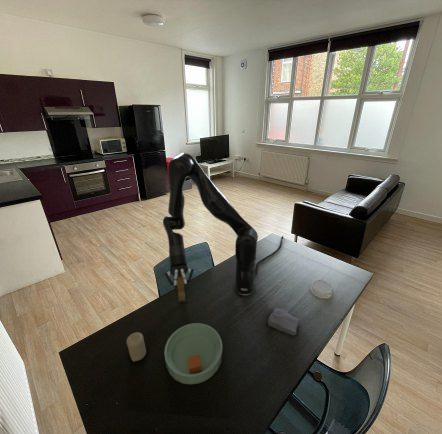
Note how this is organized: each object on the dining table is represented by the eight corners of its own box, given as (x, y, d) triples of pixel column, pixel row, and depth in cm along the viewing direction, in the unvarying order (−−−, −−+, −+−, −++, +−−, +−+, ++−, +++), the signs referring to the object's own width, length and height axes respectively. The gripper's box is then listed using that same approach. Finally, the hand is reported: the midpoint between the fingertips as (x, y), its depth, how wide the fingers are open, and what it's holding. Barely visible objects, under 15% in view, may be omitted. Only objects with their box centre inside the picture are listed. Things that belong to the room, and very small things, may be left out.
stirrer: (178, 297, 112) (176, 277, 107) (184, 296, 113) (183, 276, 107) (178, 301, 109) (176, 281, 104) (185, 300, 110) (183, 280, 105)
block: (188, 364, 84) (188, 357, 82) (200, 361, 85) (199, 354, 83) (190, 375, 80) (189, 368, 78) (201, 372, 81) (201, 365, 79)
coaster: (328, 285, 121) (329, 280, 120) (334, 300, 112) (336, 294, 111) (308, 284, 122) (309, 278, 121) (312, 298, 113) (314, 292, 112)
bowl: (185, 325, 99) (185, 316, 97) (230, 343, 92) (231, 334, 90) (153, 370, 83) (152, 361, 80) (205, 396, 75) (205, 387, 73)
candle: (137, 365, 84) (132, 346, 80) (127, 357, 87) (122, 338, 82) (149, 352, 88) (145, 334, 84) (139, 345, 91) (135, 327, 87)
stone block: (273, 313, 107) (266, 326, 99) (275, 304, 106) (268, 316, 97) (299, 324, 102) (294, 339, 94) (302, 315, 101) (297, 329, 92)
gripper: (161, 256, 107) (165, 295, 102) (192, 252, 110) (197, 290, 105) (162, 259, 114) (165, 296, 109) (192, 255, 117) (196, 291, 112)
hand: (181, 293), depth 107 cm, fingers closed on stirrer, 3 cm apart
